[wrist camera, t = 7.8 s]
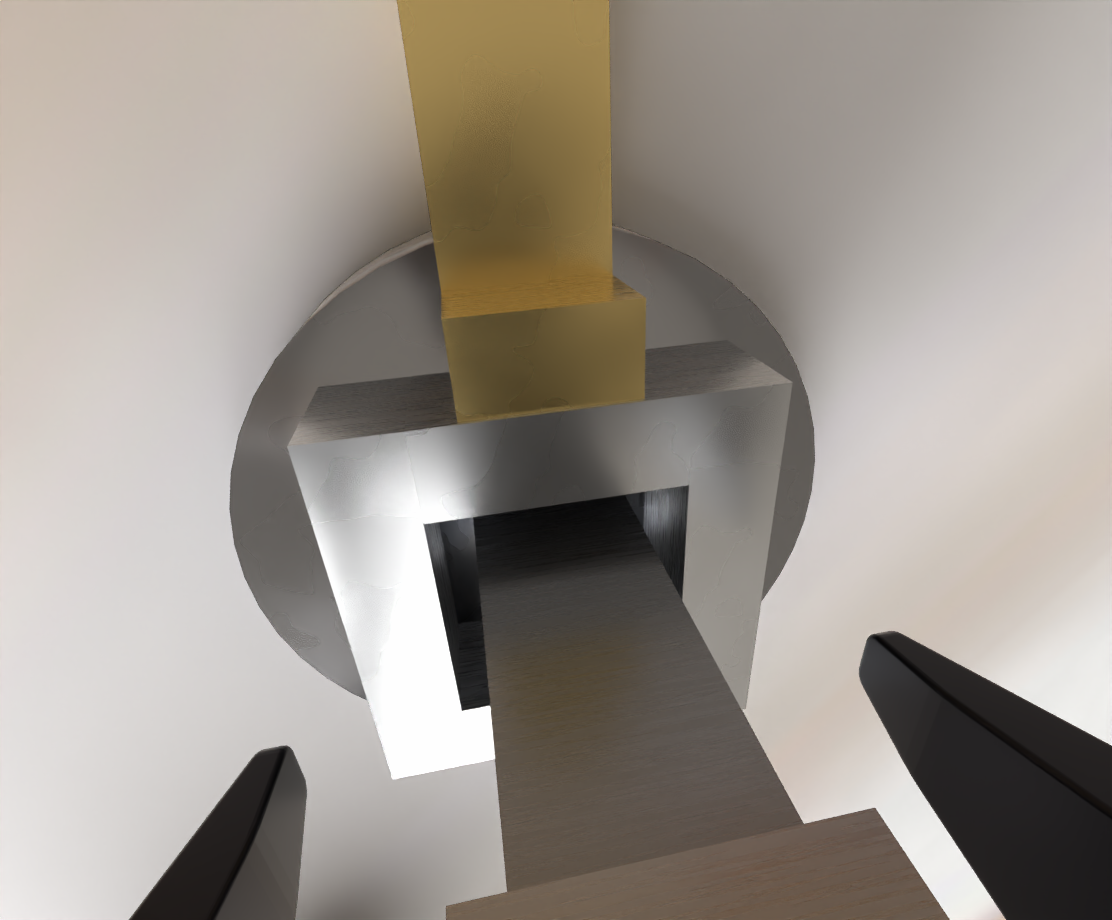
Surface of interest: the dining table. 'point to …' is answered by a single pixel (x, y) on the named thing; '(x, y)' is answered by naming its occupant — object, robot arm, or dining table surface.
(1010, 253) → the dining table surface
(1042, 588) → the dining table surface
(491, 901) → the wedge pin
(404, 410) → the rosette
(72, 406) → the dining table surface
